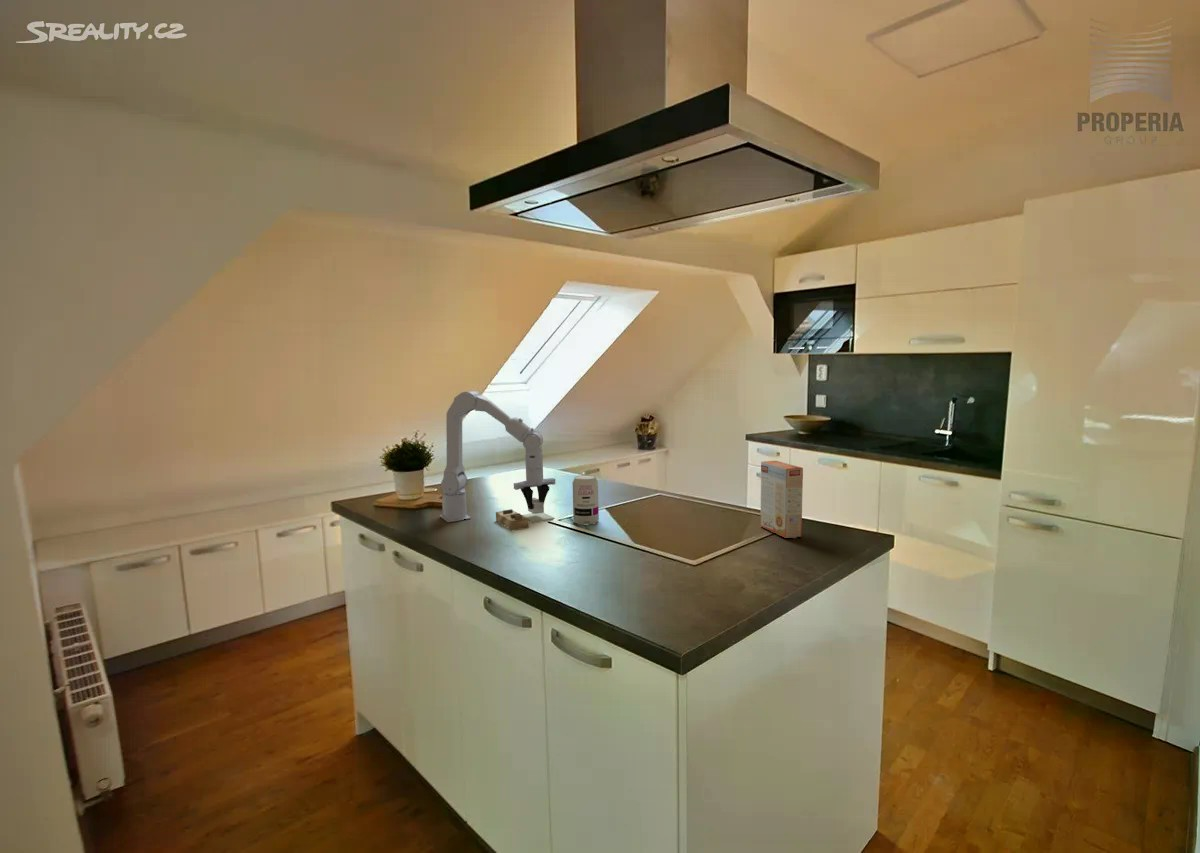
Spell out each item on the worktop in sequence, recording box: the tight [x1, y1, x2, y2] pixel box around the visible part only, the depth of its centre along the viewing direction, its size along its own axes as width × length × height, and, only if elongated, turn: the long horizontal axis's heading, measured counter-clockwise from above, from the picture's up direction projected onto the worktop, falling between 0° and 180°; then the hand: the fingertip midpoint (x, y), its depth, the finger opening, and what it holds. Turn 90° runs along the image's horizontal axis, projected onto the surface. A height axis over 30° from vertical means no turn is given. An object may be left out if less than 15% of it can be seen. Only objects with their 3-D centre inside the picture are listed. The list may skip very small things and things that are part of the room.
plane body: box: [495, 508, 530, 531], centre depth 188 cm, size 14×6×4 cm, turn 31°
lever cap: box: [527, 497, 545, 514], centre depth 194 cm, size 5×4×4 cm
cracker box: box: [759, 460, 804, 538], centre depth 172 cm, size 14×6×21 cm, turn 14°
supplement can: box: [572, 474, 600, 525], centre depth 188 cm, size 8×8×15 cm
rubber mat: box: [522, 512, 555, 524], centre depth 195 cm, size 10×8×1 cm
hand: (535, 507), depth 195 cm, fingers closed on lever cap, 3 cm apart
